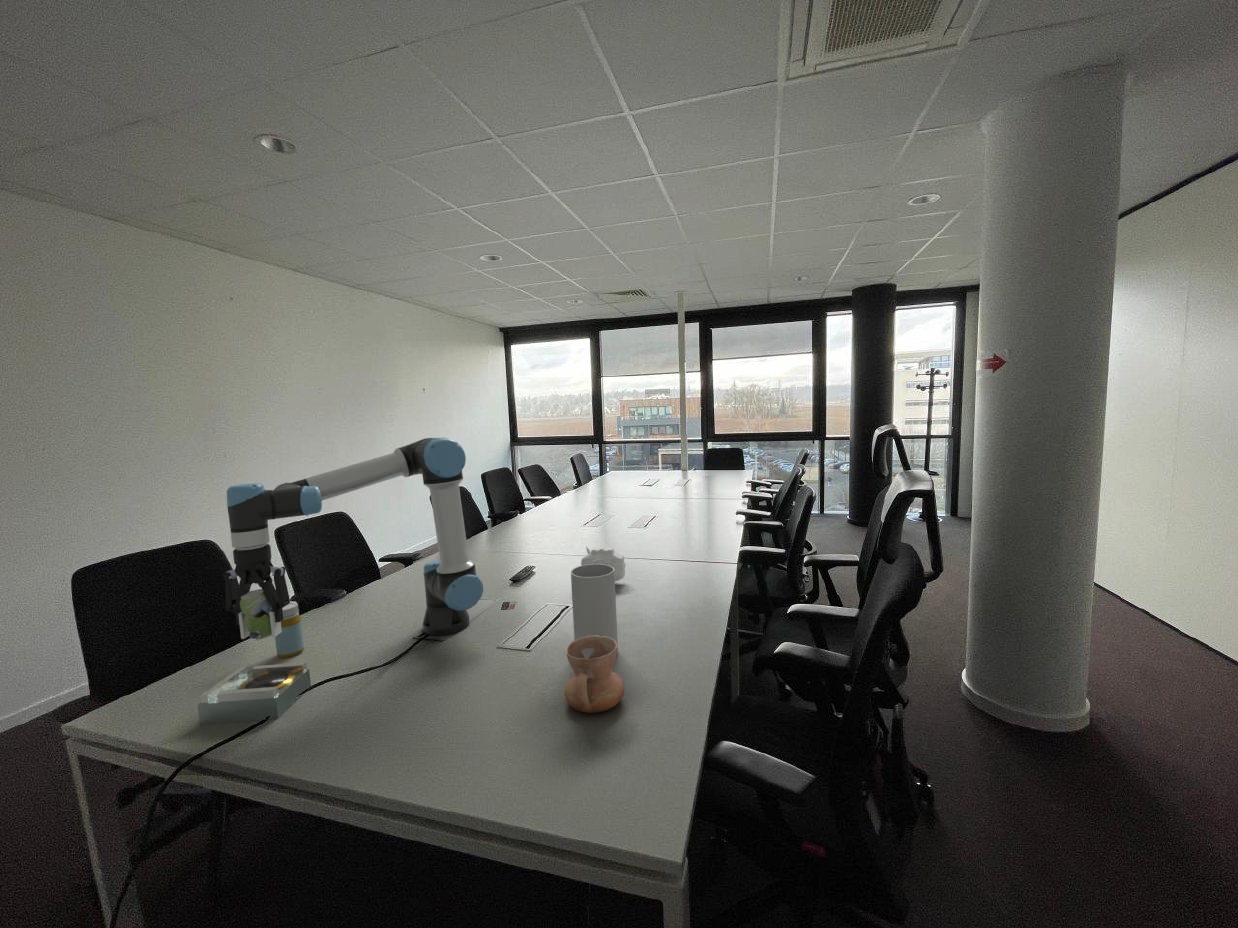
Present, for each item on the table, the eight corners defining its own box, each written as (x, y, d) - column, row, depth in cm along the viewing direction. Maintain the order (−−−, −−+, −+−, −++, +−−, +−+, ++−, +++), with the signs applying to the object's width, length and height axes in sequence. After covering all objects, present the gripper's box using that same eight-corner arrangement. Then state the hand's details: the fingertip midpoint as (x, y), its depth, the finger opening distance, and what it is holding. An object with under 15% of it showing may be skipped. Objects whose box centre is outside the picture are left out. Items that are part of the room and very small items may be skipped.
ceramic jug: (580, 679, 130) (576, 628, 128) (633, 685, 125) (630, 632, 124) (551, 722, 113) (546, 663, 111) (611, 730, 108) (607, 669, 107)
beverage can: (285, 632, 127) (280, 586, 126) (255, 644, 120) (250, 597, 119) (267, 629, 129) (262, 585, 128) (238, 642, 122) (232, 595, 121)
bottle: (290, 659, 149) (285, 611, 148) (271, 658, 151) (266, 610, 149) (309, 648, 156) (304, 602, 155) (291, 647, 157) (286, 602, 156)
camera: (586, 580, 211) (584, 543, 209) (627, 580, 207) (625, 543, 206) (579, 589, 200) (577, 550, 198) (623, 589, 197) (621, 550, 195)
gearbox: (311, 686, 132) (308, 661, 132) (278, 718, 118) (275, 690, 118) (241, 691, 131) (238, 666, 131) (200, 724, 117) (196, 696, 117)
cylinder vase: (625, 647, 147) (621, 566, 144) (606, 667, 135) (602, 579, 133) (588, 641, 152) (584, 562, 150) (567, 660, 141) (562, 575, 138)
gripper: (301, 540, 127) (310, 626, 129) (221, 544, 125) (232, 631, 128) (283, 547, 119) (293, 639, 121) (198, 552, 118) (209, 644, 120)
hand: (261, 635), depth 124 cm, fingers closed on beverage can, 7 cm apart
